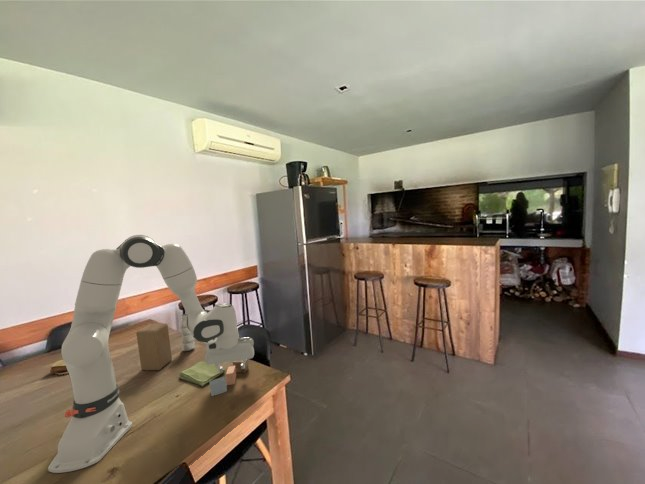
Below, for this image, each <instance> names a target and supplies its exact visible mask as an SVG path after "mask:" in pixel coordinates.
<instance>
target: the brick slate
mask: <svg viewBox="0 0 645 484" xmlns="http://www.w3.org/2000/svg"><path fill="white" fill-rule="evenodd" d="M208 383H209V390H210V396H211V397H214V395H215V396H217V395H221V394H222V393H225V392H228V387H227V386H228V385H227V380H226V375H225V376H221V377H219V378H218V377H217V378H215V379H213V380H211V381H209V382H208Z"/></svg>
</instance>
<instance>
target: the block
mask: <svg viewBox="0 0 645 484" xmlns="http://www.w3.org/2000/svg"><path fill="white" fill-rule="evenodd" d="M136 341H137V348H138V353H139V354H138V357H139V361H140V362H139V363H140V368H141V370H142V371H159V370H162V369H163V368H164V367H165V366H166V365H167V364H169V363H170V362H171V361H172V359H173V357H172V350H171V349H172V348H171V341H170V332H169V324H168V323H166V322H165V323H164V322H163V323H149V324H148V325H145V326H144V327H142V328H140V329H138V330H137V331H136Z"/></svg>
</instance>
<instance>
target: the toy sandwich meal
mask: <svg viewBox="0 0 645 484" xmlns="http://www.w3.org/2000/svg"><path fill="white" fill-rule="evenodd" d="M49 373H50V374H54V375H57V374H58V376H63V374H64V375H69V374H68V373H69V372H68V370H67V368H66V365H65V362H64V360H63V359H60V360H57V361H55V362H53V364H51V367H50V370H49Z"/></svg>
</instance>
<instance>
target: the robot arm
mask: <svg viewBox="0 0 645 484" xmlns="http://www.w3.org/2000/svg"><path fill="white" fill-rule="evenodd" d="M130 267H133V268H136V269H137V268H140V269H142V268H143V269H144V268H150V267H156V268H157V269H158V271H159V273H160V275H161V277H162V279H163V282H164V283H165V284H166V286H167V288H168V289H169V290H170V291H171V293H172V294H174V295H175V296H176V297H177V298H178V299H179V300H180V302H181V305H182V307H183V308H184V311H185V314H187V327H188V329H189V330H190V331H191V333H192V334H193V338H194V340H196V341H198V342H200V343H206V342H207V343H206V346H205V348H206V350H205V354H204V362H206V364H207V365H211V364H213V365H215V366H216V367H217V369H218V371H219V372H223V368H224V367H223V366H221V364H223V363H229V362H233V361H237V360H243V363H241V369H244V368H245V363H246V360H247V359H248V360H250V359H253V358H254V356H255V348H254V344H255V342H254V338H252V337H250V336H247V337H240V336H239V335H240V334H239V329H238V326H237V325H238V318H237V313H236V309H235V307H234V305H232V304H231V303H226V302H221V303H218V304H215V305H214V307H213V308H212V309H211V310H209V311H207V310H206V309H204V308H203V307H202V305H201V303H200V300H199V298H198V296H197V294H196V286H197V283H198V277H197V274H196V271H195V269H194V266H193V264H192V261H191V260H190V258H189V256H188V255H187V253H186V252H185V250H184V249H183V247H182V246H180V245H179V244H177V243H168V244H165V245H161V244H158V243H157V242H156V241H154V239H153V238H151V237H150V236H147V235H144V234H135V235H132V236H130V237H127V238H126V239H125V240H124V241H123V242H122V243H121V244H120V245H118V246H117V247H116V248H115V249H109V248H104V249H103V248H102V249H98V250H96V251H94V252H92V253H91V255H90V257H89V258H88V261H87V262H86V265H85V267H84V269H83V272H82V275H81V280H80V283H79V288H78V291H77V295H76V298H75V303H74V310H73V316H72V321H71V324H70V326H71V327H70V329H69V331H68V333H67V336H66V337H65V338H64V340H63V341H62V342H63V343H62V344H61V357H62V360H64V362H65V365H66V368H67V370H68V372H69V374H68V375H69V376H70V382H71V385H72V387H71V388H72V392H73V399H74V400H73V403H72V407H71V408H72V409H67V410H66V411H65V413H64V417H65V418H69V417H70V421H69V422H68V423H67V426H66V428H65V430H64V432H63V434H62V436H61V438H60V440H59V442H58V444H57V454H56V455H55V456H54V458H53V460H51V462H50V464H49V465H48V467H47V471H48V472H50V473H54V474H59V473H69V472H74V471H77V470H82V469H84V468H88V467H90V466H92V465H94V464H96V463H98V462H99V461H101V460H102V459H103V458H104V457H105V456H106V454H108V452H110V450H111V449H113V447H114V446H115V445H116V444H117V443H118V442H119V441H120V439H121V438H123V436H125V434H126V433H127V432H128V431H129V430H130V429H131V428H132V427H133V422H132V421H130V420H129V417H128V413H127V410H126V408H125V404H124V402H123V401H121V399H120V388H119V386H118V383H117V382H116V373H115V368H114V363H113V360H112V356H111V353H110V348H109V337H110V333H111V329H112V326H113V321H114V317H115V313H116V309H117V306H118V302H119V297H120V292H121V290H122V285H123V282H124V276H125V273H126V272H127V270H129V268H130ZM223 373H224V372H223Z"/></svg>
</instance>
